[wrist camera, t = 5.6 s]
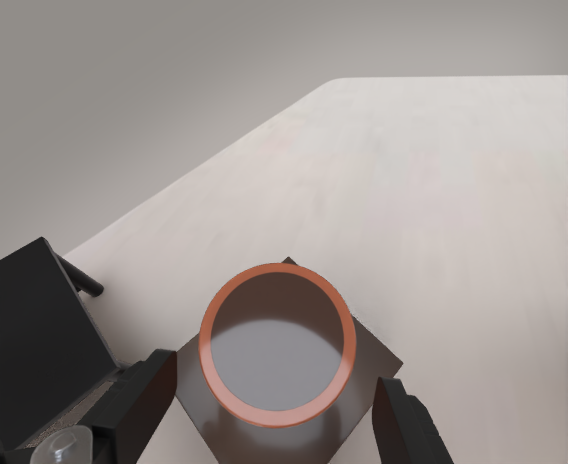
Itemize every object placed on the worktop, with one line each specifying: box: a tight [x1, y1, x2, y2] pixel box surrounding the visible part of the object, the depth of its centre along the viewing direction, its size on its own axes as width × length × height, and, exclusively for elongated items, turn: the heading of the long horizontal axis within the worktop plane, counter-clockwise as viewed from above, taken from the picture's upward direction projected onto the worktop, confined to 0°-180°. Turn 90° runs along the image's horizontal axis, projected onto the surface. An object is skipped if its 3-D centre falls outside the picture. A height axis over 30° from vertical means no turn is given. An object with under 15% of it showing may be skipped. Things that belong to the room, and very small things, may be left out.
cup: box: [198, 263, 356, 429], centre depth 15 cm, size 6×6×9 cm
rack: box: [0, 237, 132, 452], centre depth 20 cm, size 12×12×8 cm
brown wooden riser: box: [175, 257, 403, 464], centre depth 21 cm, size 12×11×5 cm
